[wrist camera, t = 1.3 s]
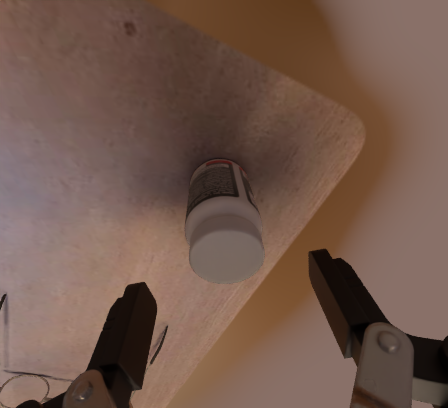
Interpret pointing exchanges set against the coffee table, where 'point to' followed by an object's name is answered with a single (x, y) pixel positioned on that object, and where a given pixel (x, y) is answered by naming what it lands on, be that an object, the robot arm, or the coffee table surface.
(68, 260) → the coffee table surface
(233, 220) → the pill bottle
